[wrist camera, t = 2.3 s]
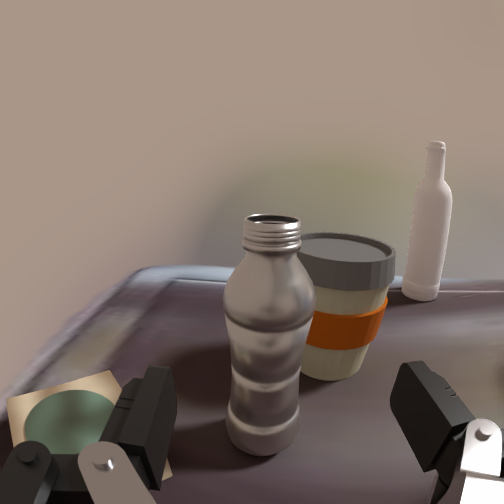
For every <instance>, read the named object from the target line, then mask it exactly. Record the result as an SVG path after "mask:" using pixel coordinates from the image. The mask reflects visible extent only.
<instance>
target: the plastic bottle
mask: <svg viewBox="0 0 504 504" xmlns="http://www.w3.org/2000/svg"><path fill="white" fill-rule="evenodd" d="M300 221H301V220H300V219H299V218H297V217H294V216H289V215H281V214H257V215H250V216H247V217H245V219H244V237H243V239H242V247H243V248H244V249H245V250H247V252H246V256H245V257H244V258H243V259H242V261H241V262H240V263H239V264H238V266H237V267H236V268H235V270H234V271H233V273H232V275H231V276H230V278H229V279H228V281H227V284H226V287H225V291H224V294H223V305H224V313H225V319H226V324H227V330H228V336H229V342H230V352H231V362H232V364H231V366H232V382H231V393H230V400H229V404H228V408H227V414H226V421H225V422H226V428H227V431H228V434H229V437H230V439H231V441H232V443H233V444H234V445H235V446H236V447H237V448H239V449H240V450H242V451H244V452H246V453H248V454H251V455H255V456H268V455H272V454H276V453H278V452H280V451H282V450H284V449H285V448H287V447H288V446H289V445H290V444H291V443H292V441H293V439H294V437H295V435H296V433H297V431H298V429H299V425H300V410H299V403H298V395H299V374H300V368H301V363H302V358H303V352H304V347H305V344H306V340H307V337H308V333H309V330H310V326H311V322H312V319H313V315H314V310H315V305H316V294H315V289H314V285H313V282H312V280H311V278H310V277H309V275H308V273H307V271H306V269H305V268H304V266H303V265H302V263H301V262H300V260H299V259H298V257H297V253H296V252H297V251H299V250H300V249H301V243H302V241H301V239H300V233H301V222H300Z"/></svg>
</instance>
